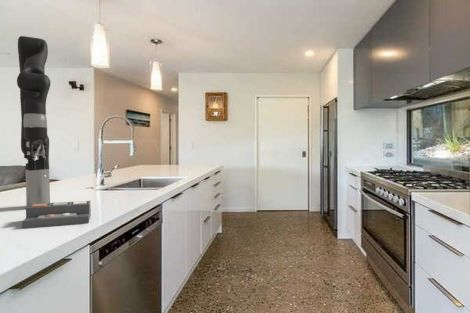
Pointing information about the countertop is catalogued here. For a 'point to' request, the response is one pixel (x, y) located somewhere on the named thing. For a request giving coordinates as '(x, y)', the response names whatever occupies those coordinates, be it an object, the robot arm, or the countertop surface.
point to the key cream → (80, 202)
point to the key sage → (60, 204)
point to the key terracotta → (39, 205)
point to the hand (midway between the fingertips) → (36, 169)
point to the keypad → (57, 215)
